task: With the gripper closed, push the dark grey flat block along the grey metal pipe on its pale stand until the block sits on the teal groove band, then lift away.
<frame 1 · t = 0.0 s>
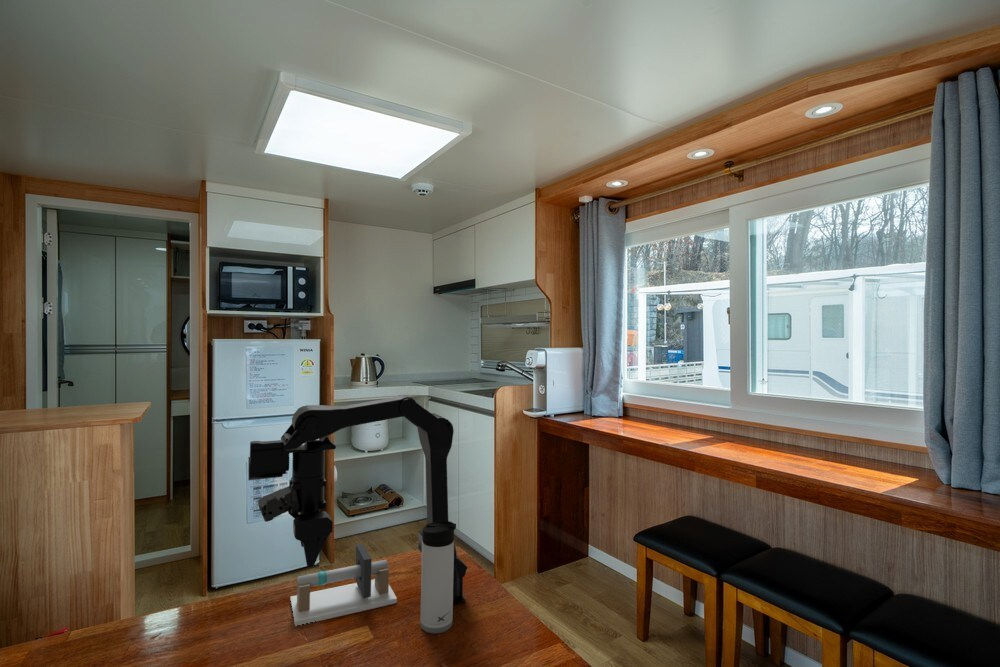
hand: (307, 555, 97), 15 cm above the table, tool pointing down, fingers open, 9 cm apart
pipe stand: (343, 602, 108), on the table
dark grey flat block: (363, 570, 110), point 6 cm above the table, slide at 0.0 cm
travel mug: (437, 625, 101), on the table
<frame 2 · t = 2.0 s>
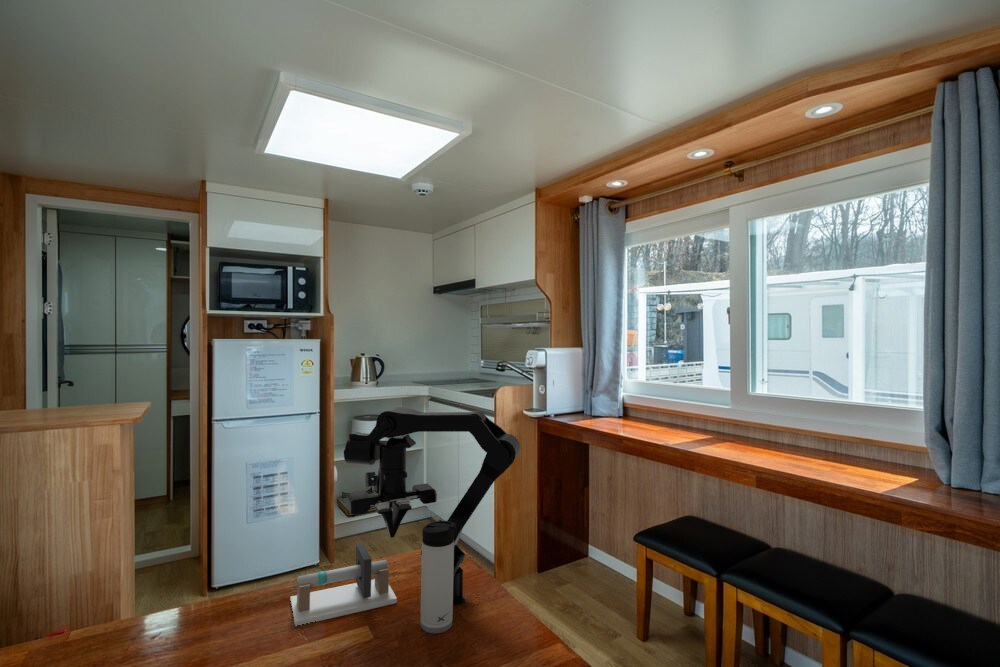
hand: (391, 537, 113), 12 cm above the table, tool pointing down, fingers closed
nothing on the table moved.
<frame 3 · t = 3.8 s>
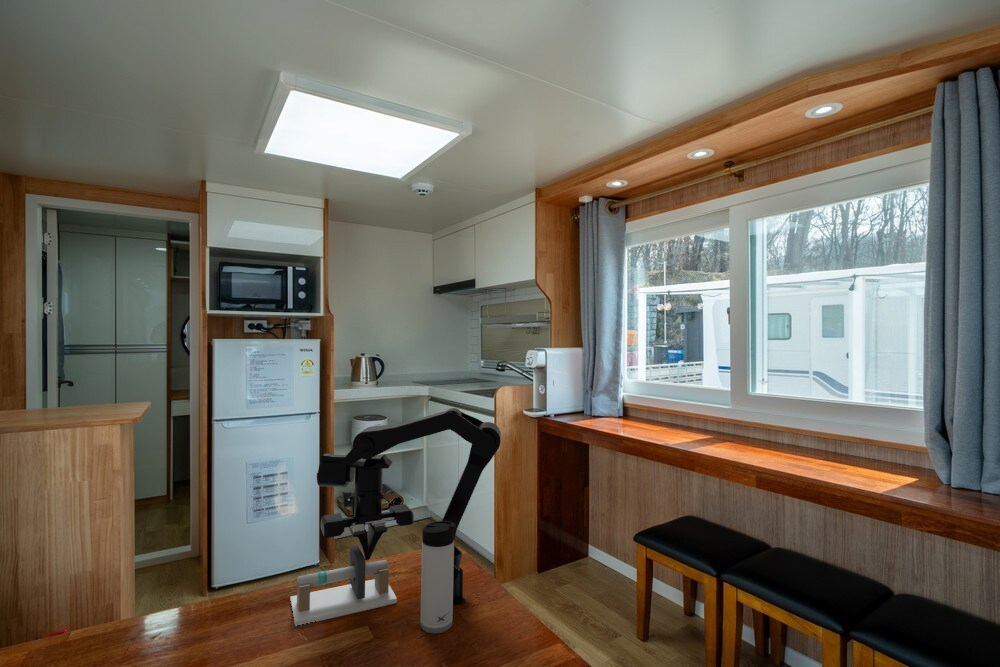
hand: (367, 559, 110), 8 cm above the table, tool pointing down, fingers closed
dark grey flat block: (357, 571, 109), point 6 cm above the table, slide at 1.2 cm, touching gripper
everything else where it was.
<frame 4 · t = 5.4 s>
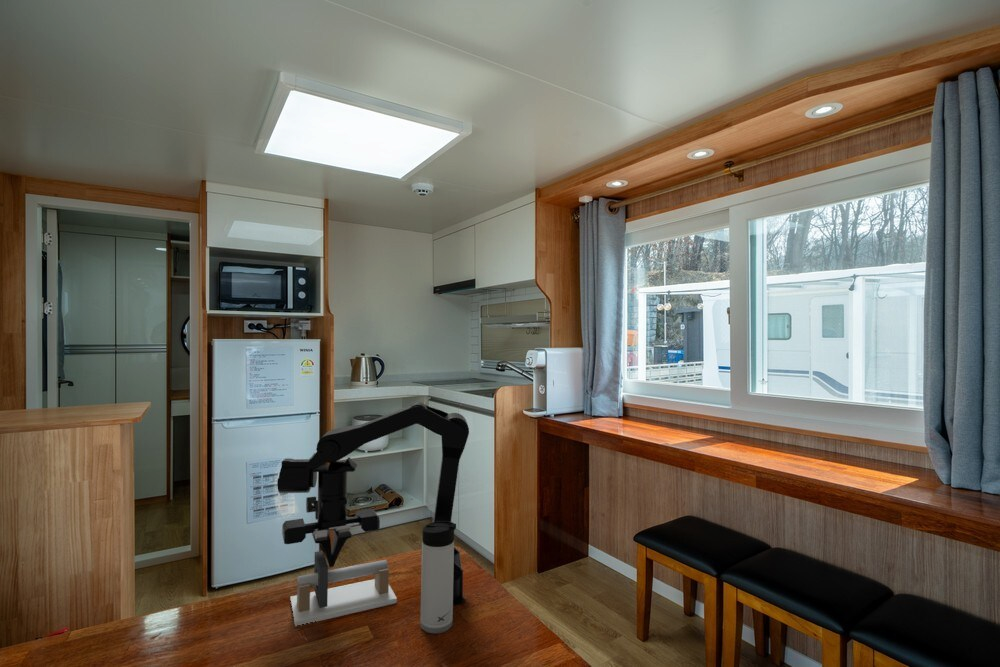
hand: (331, 566, 107), 8 cm above the table, tool pointing down, fingers closed
dark grey flat block: (320, 578, 106), point 6 cm above the table, slide at 8.7 cm, touching gripper
everything else where it was.
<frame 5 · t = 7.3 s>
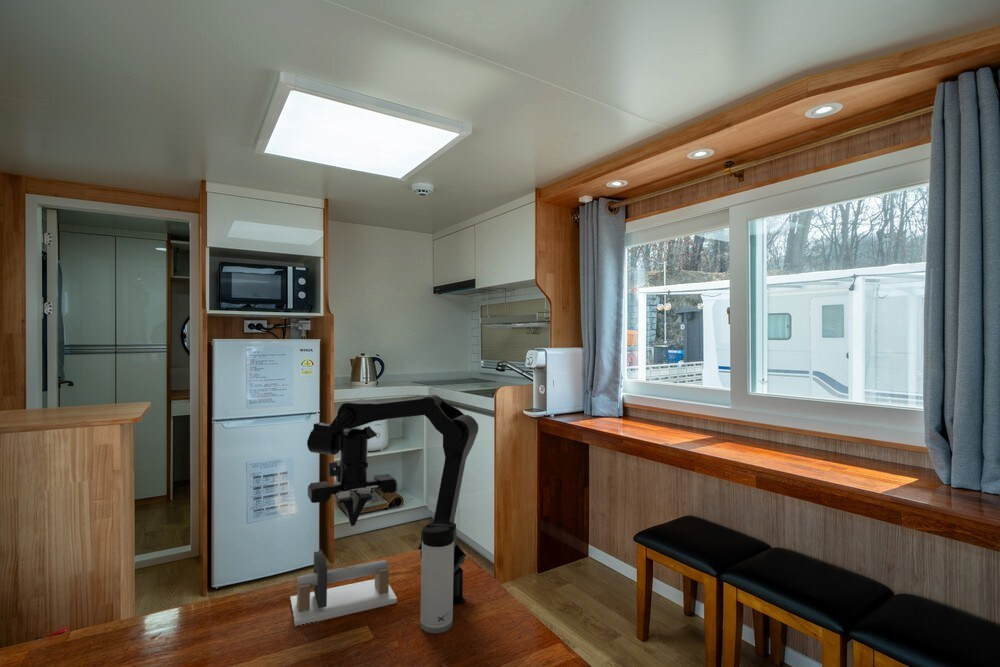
hand: (352, 525, 116), 13 cm above the table, tool pointing down, fingers closed
dark grey flat block: (320, 578, 106), point 6 cm above the table, slide at 8.8 cm
everything else where it was.
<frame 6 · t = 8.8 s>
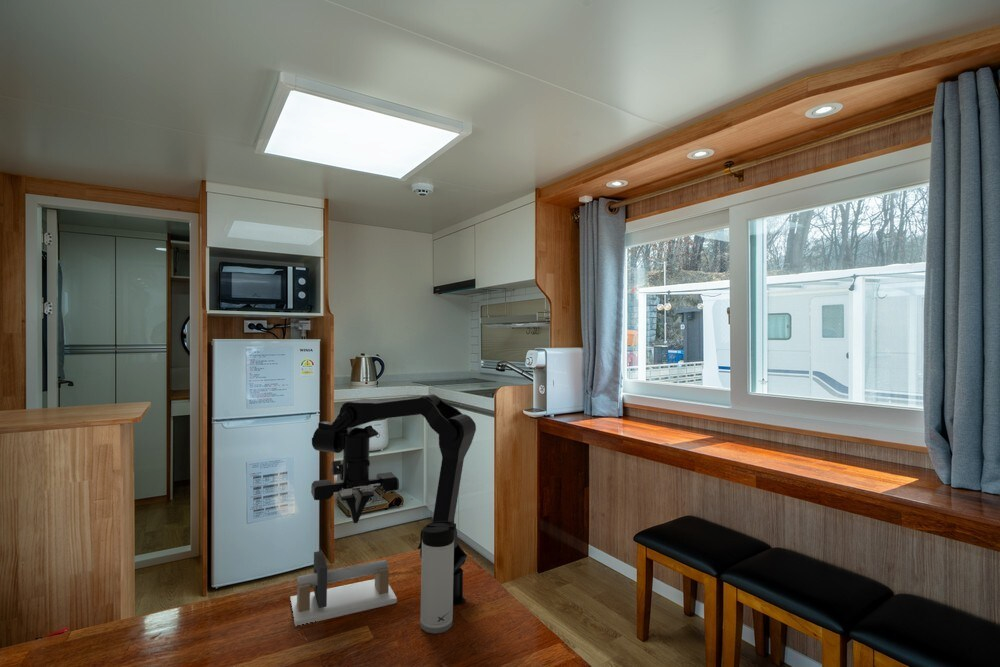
hand: (355, 522, 118), 13 cm above the table, tool pointing down, fingers closed
nothing on the table moved.
at the end: dark grey flat block slide at 8.8 cm; the gripper is holding nothing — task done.
